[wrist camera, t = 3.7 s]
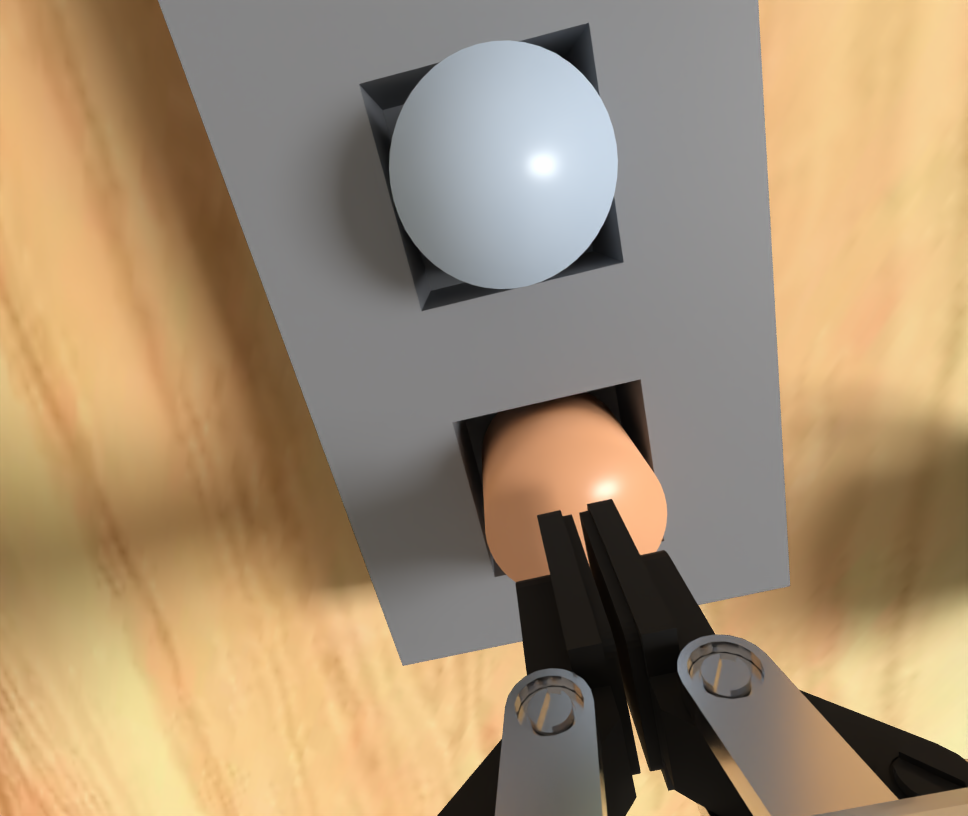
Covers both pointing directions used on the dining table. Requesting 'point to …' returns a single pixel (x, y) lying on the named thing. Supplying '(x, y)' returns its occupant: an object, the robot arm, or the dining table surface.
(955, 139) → the dining table surface
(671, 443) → the button panel
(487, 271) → the slate button
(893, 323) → the dining table surface
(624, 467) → the terracotta button
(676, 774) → the robot arm
